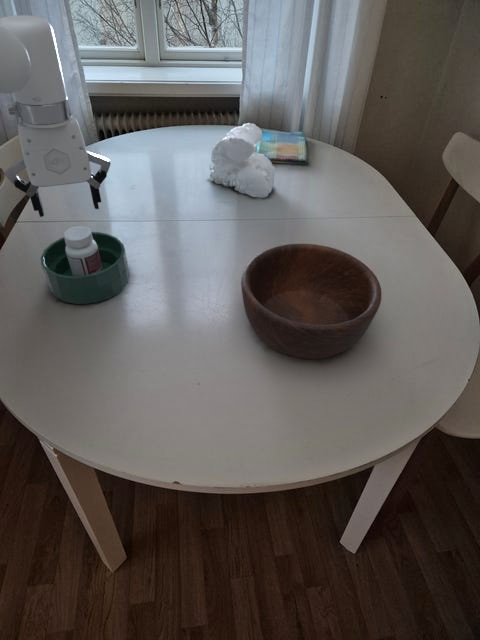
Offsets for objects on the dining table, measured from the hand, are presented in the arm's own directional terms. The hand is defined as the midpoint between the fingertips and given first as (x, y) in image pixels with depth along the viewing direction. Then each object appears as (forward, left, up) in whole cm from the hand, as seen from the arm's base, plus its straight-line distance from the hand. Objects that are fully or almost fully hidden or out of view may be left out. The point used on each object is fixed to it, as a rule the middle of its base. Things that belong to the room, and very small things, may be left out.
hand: (69, 209), depth 80 cm
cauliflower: (+47, +32, -17) cm, 60 cm away
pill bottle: (0, 0, -17) cm, 17 cm away
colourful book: (+70, +52, -17) cm, 89 cm away
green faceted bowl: (0, 0, -17) cm, 17 cm away
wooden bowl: (+37, -27, -17) cm, 49 cm away
